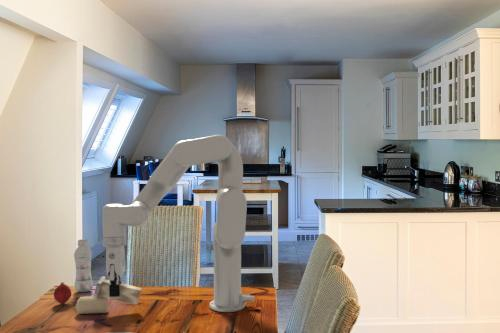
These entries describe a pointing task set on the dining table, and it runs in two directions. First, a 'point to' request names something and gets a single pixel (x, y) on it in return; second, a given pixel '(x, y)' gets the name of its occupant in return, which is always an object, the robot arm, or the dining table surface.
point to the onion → (62, 293)
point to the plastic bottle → (83, 267)
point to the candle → (92, 305)
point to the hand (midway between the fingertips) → (115, 294)
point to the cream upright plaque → (126, 291)
